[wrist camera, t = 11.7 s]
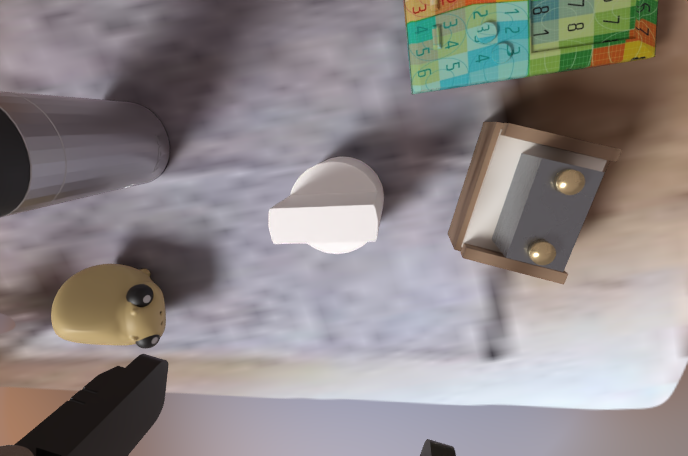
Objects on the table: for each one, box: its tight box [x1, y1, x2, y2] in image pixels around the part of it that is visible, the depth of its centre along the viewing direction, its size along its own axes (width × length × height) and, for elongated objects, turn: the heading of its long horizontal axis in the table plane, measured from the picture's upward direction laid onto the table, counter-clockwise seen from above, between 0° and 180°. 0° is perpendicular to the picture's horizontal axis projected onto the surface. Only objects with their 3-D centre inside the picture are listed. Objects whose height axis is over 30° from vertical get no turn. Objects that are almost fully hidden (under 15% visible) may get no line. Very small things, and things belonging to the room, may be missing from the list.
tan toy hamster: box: [51, 264, 166, 348], centre depth 44 cm, size 10×12×11 cm
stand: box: [448, 122, 622, 284], centre depth 36 cm, size 10×12×8 cm
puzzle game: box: [404, 0, 658, 94], centre depth 34 cm, size 12×5×20 cm
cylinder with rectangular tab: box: [269, 156, 384, 254], centre depth 37 cm, size 9×9×12 cm
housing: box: [491, 153, 605, 272], centre depth 31 cm, size 8×4×6 cm, turn 168°
